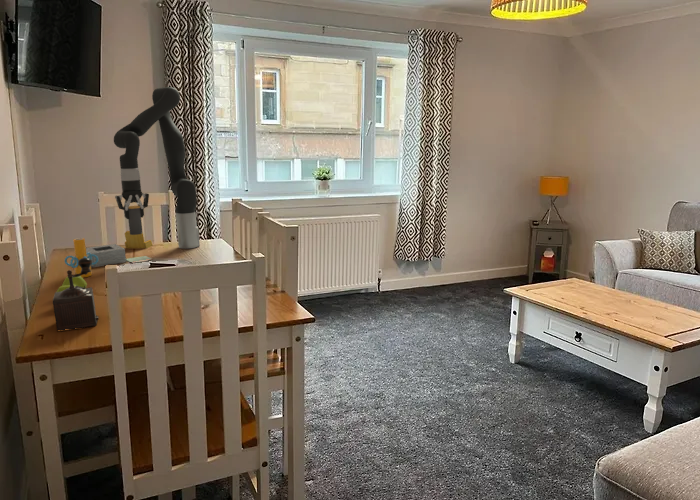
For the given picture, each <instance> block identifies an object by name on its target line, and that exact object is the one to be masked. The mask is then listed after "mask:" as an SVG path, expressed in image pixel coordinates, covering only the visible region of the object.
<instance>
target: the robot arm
mask: <svg viewBox="0 0 700 500" xmlns="http://www.w3.org/2000/svg"><path fill="white" fill-rule="evenodd" d="M151 97H152V98H151V99H152V103H153V105H152V106H150V107H148V108H147V109H145V110H143V111H142V112H140V113H139V114H138V115H136V116H135V118H133V119H132V121H131V122H129V124H127V125H125V126H124V127H122V128H120V129H118V130H117V132H116V133H115V134H114V135H113V143H114V145H115V147H117V148H119V149H125V151H124V153H123V154H122V155H120V156H119V165H120V181H121V183H120V184H121V191H122V192H121V194H119V195H115V196H114V199H115V200H116V203H117V207H118V209H119V210H122V211H123V215H124V218H126V220H128V219H129V211H128V207H129V206H131V204H133V203H136V205H137V206H140V212H141V219H142V218H143V217H144V216H145V210H144V209H145V208H148V206H149V199H150V194H149V193H148V192H147V193H146V192H144V193H143V191H142V184H141V175H140V170H139V163H138V157H139V152H140V151H139V150H140V145H141V143H140V142H141V141H140V137H142V136H144V135H145V134H147V132H148V131H149V130H150V129H151V127H152V126H154V125H155V124H156V123H157V122H158V124H159V128H160V129H159V130H160V133H161V137H162V144H163V148H164V152H165V156H166V162H167V165H168V170H169V179H170V187H171V188H170V189H171V192H172V193H173V195H174V196H175V197H177V198H176V199H177V201H176V202H177V205H176V206H175V208H174V209H175V219H176V230H177V232H176V233H177V240H178V241H177V244H178V249H183V250H185V249H186V250H187V249H188V250H189V249H195V248H198V247H200V246H201V243H200V233H199V227H198V226H197V216H196V213H197V212H196V208H197V191H196V185H195V183H194V182H193V181H191V180H190V179H188V178H187V175H186V171H185V160H186V146H185V141H184V136H183V134H182V132H181V131H180V129H179V128H178V127H177V125H176V124H175V123H174V121H173V119H172V116H171V112H170V111H172V110H173V109H174V108H176V107H177V106H178V105H179V104H180V102H181V95H180V92H179V91H178V89H177V88H175V87H173V86H165V87H158V88H155V89H153V91H152V96H151ZM142 197H143V198H142ZM141 198H142V199H143V202H142V201H141ZM123 199H124V202H123V203H124V204H123V203H122V200H123Z"/></svg>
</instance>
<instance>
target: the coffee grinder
mask: <svg viewBox="0 0 700 500" xmlns="http://www.w3.org/2000/svg"><path fill="white" fill-rule="evenodd" d="M91 264H92V260H91V259H89V258H81V259H80V260H79V261H78V265H79V266H80V267H81V268H82V270H81V273H79V274H75V273H74V274H73V271H72V270H71V269H68V270H67V271H66V274H67V276H66V277H68V278H69V282H70V287H69V288H67V289H65V290H63V291H61V292H57V291H55V292H54V295H53V298H52V306H53V313H54V317H55V325H56V331H57V330H65V329H75V328H82V329H85V328H84V327H88V328H93V327H92V326H94V327H96V326H97V324H98V320H99V318H100V317H99V315H97V314H96V313H97V312H96V305H95V298H94V296H95V295H94V290H93V287H92V286H91V287H86V288H85V286H84V288H83V287H78V286H75V287H74V285H73V280H72V278H73V277H79V276H81V275H83V274H85V275H86V274H87V273H88V272H91V270H92V269H91V270H90V266H91ZM75 330H76V329H75Z"/></svg>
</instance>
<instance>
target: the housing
mask: <svg viewBox="0 0 700 500" xmlns="http://www.w3.org/2000/svg"><path fill="white" fill-rule="evenodd" d="M88 252H89V253H91V254H94V255H96V256H97V257H98V262H97V263H96V264H94V265H91V269H92V268H98V267H99V268H100V267H104V265H105V266H109V265H108V264H112V265H116V264H123V263H127V261H126V259H127V258H126V257H127V256H126V248H124V247H122V246H120V245H118V244H117V243H111V244H103V245H98V246H97V245H96V246H90V247H89V246H87V247H86V253H88ZM88 256H89V254H88V255H87V257H88ZM89 259H90V258H89ZM94 262H96V258H95V257H94V256H92V263H94Z"/></svg>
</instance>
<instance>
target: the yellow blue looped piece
mask: <svg viewBox="0 0 700 500" xmlns="http://www.w3.org/2000/svg"><path fill="white" fill-rule="evenodd" d="M72 240H73V248H74V256H73V255H68V256H65V258H64V264H65V265H66V266H68V267H71V268H73V269H74V275H75V274H79V273H81V270H82V268H81V267H80V266H79V265H78V261H79V260H80V259H81V258H90V259H91V260H92V256H94V257H95V258H96V262H94V263H92V264H91V265H94V264H96V263H97V262H98V257H97V256H96V255H94V254H91V253H89V252H88V253H86V248H87V247H86V241H85V240H86V239H85V237H80V238H79V237H77V238H74V239H72ZM88 254H89V256H88V257H87V255H88ZM69 258H71V259H70V262H68V259H69ZM90 270H91V272H88V273H87V274H86V275H85V274H83V275H81V277H82V278H83V279H85V278H89V277H92V276H93V272H92V271H93V270H92V267H91V266H90Z"/></svg>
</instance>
